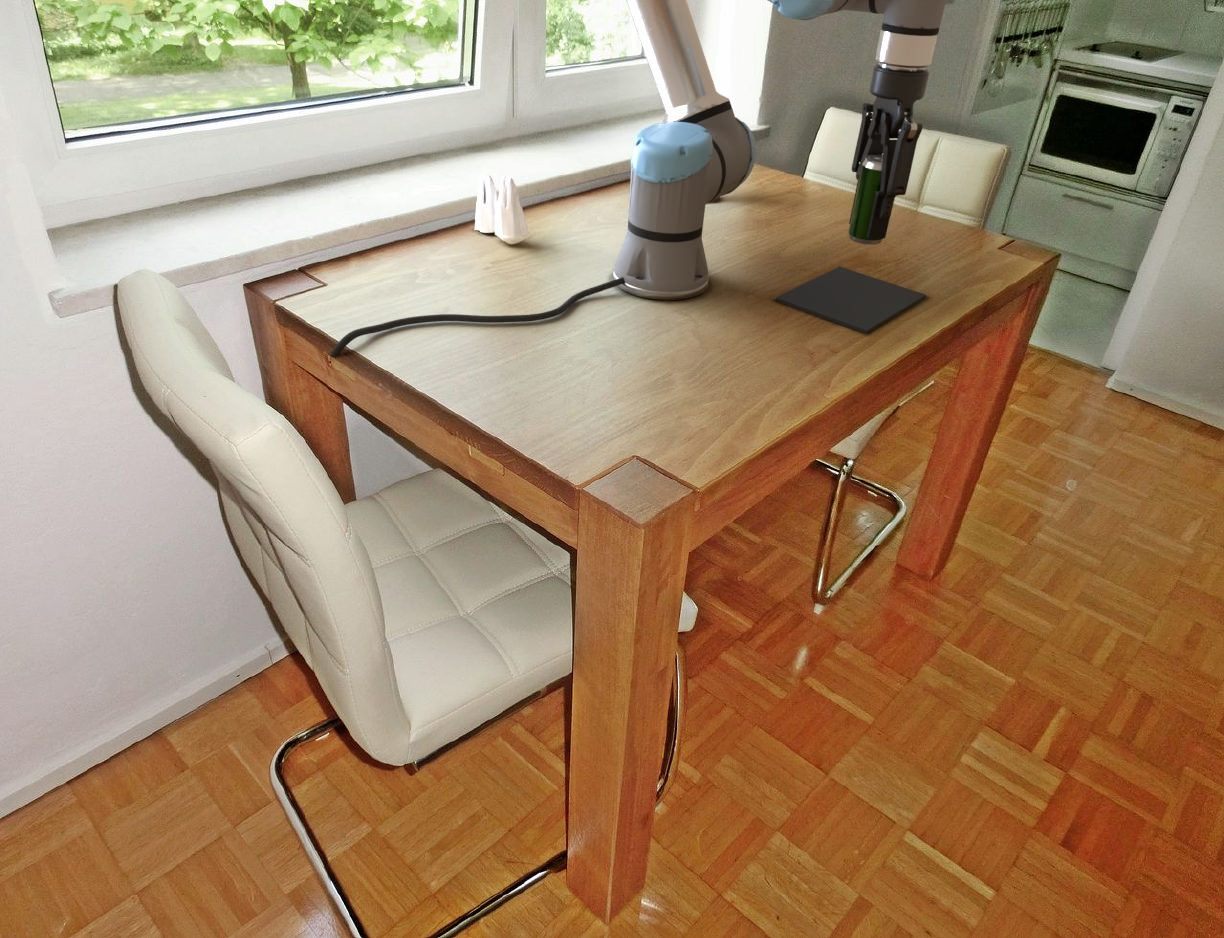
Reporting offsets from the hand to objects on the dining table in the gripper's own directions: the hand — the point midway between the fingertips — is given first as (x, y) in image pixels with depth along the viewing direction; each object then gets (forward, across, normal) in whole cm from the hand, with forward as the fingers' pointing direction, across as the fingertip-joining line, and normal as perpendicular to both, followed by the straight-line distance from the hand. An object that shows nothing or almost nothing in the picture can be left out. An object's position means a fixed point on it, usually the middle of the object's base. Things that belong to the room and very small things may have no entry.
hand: (866, 230), depth 136 cm
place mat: (+11, 0, 0) cm, 11 cm away
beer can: (+1, 0, 0) cm, 1 cm away
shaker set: (+11, +32, +52) cm, 62 cm away
